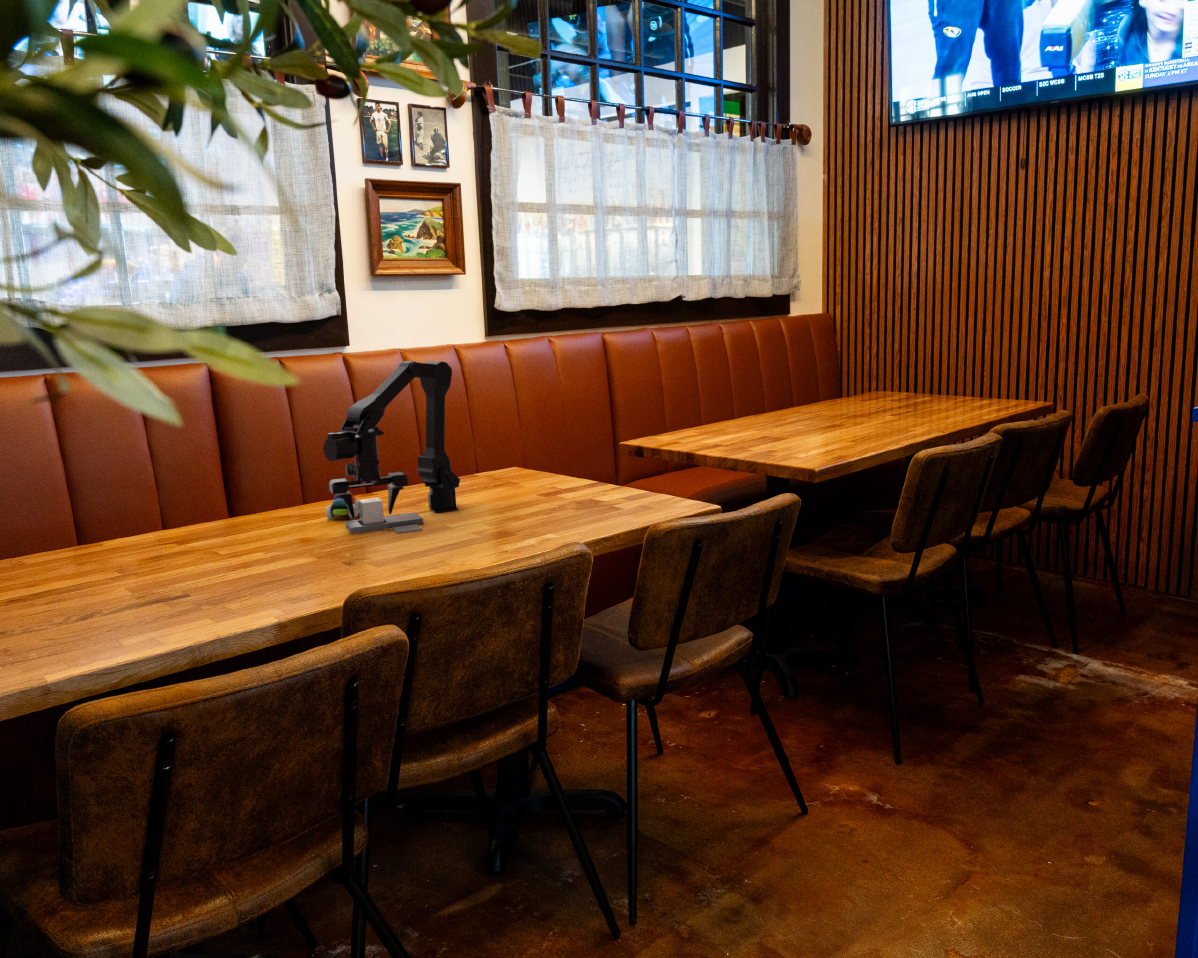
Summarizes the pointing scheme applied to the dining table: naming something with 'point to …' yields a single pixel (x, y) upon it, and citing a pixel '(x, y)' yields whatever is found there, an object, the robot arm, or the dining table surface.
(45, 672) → the dining table surface
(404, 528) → the pad
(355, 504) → the rainbow dome toy
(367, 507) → the brushed metal block
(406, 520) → the plate with rectangular hole
